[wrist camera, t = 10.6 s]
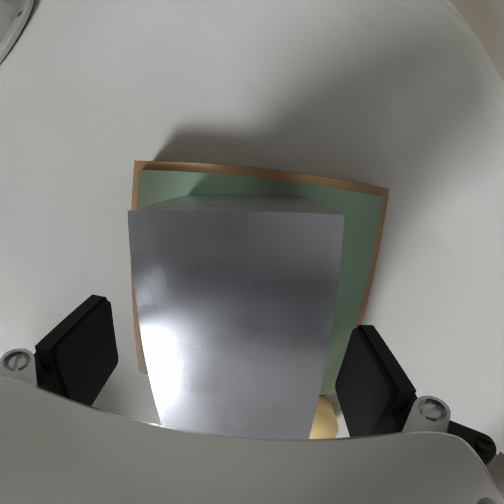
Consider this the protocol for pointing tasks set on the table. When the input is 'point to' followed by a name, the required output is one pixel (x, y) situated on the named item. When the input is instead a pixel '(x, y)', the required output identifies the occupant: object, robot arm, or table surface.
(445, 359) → the table surface
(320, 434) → the cream dome
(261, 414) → the block
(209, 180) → the green board with frame
